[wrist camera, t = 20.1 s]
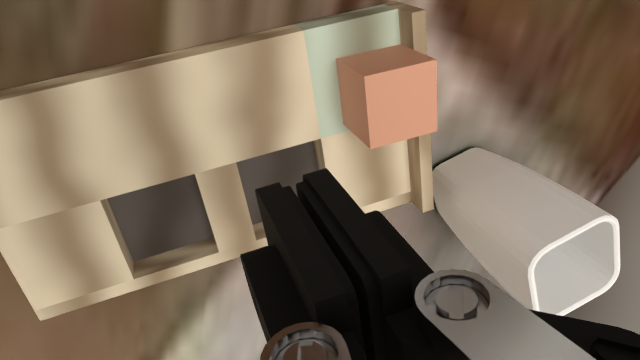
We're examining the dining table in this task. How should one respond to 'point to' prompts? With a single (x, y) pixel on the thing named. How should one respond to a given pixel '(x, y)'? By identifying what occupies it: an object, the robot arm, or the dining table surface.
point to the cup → (528, 230)
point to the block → (388, 94)
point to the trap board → (188, 155)
